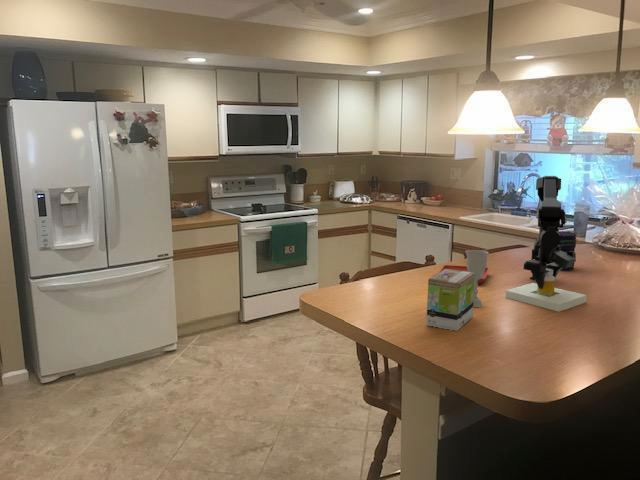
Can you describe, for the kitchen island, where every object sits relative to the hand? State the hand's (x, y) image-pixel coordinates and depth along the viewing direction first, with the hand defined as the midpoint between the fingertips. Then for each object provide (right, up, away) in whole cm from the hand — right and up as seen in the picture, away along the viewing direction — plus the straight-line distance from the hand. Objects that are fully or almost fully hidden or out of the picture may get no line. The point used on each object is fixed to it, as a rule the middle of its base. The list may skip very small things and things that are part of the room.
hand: (545, 287), depth 183 cm
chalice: (-25, -6, -3) cm, 26 cm away
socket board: (0, -4, +1) cm, 4 cm away
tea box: (-37, -9, -19) cm, 43 cm away
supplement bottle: (0, -4, +1) cm, 4 cm away
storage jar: (+25, +4, +43) cm, 50 cm away
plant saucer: (-20, 0, +30) cm, 36 cm away
